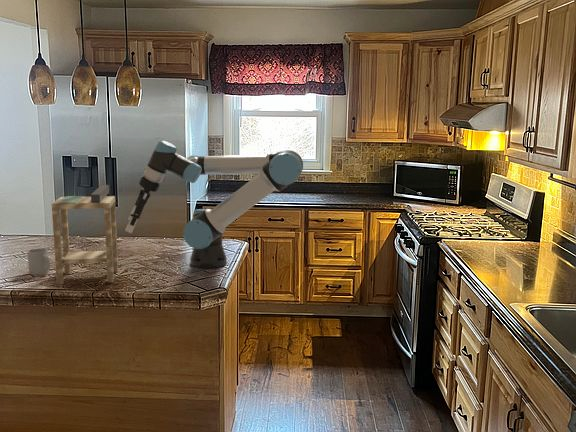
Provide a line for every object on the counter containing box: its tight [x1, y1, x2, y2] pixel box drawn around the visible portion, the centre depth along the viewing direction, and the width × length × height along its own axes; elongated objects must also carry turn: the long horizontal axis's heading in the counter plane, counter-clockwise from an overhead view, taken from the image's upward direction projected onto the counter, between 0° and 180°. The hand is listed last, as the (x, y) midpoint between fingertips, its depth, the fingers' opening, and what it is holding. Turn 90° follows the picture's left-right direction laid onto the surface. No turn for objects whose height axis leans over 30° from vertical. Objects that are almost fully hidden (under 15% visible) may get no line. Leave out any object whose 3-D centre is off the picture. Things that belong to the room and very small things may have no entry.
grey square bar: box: [90, 184, 110, 203], centre depth 222 cm, size 3×26×3 cm, turn 10°
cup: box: [27, 248, 51, 276], centre depth 225 cm, size 7×10×9 cm
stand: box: [51, 195, 119, 285], centre depth 218 cm, size 20×16×30 cm
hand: (129, 226), depth 228 cm, fingers open, 13 cm apart
